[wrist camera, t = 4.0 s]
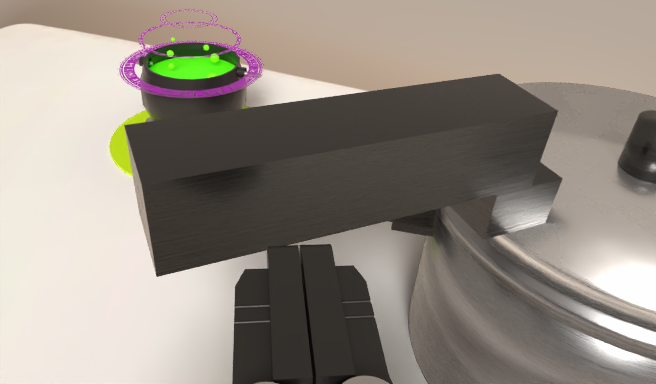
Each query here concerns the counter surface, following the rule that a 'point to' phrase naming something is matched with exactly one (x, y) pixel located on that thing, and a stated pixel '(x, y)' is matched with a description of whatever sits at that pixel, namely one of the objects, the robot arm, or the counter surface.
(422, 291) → the cooker pot
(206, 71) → the toy cauldron
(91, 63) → the counter surface
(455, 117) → the lid
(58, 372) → the counter surface
